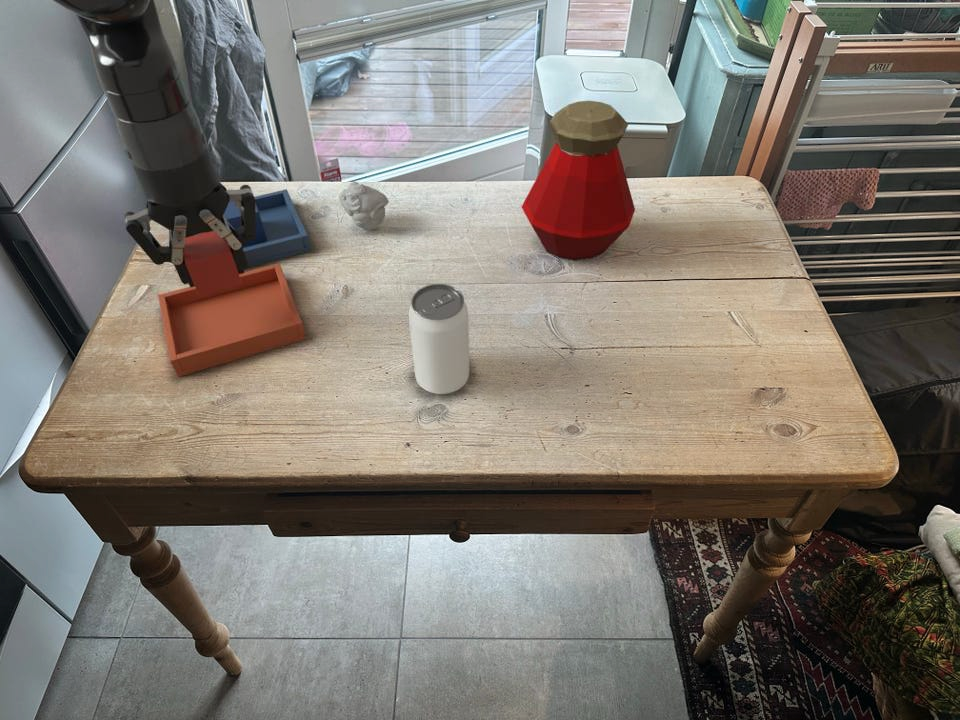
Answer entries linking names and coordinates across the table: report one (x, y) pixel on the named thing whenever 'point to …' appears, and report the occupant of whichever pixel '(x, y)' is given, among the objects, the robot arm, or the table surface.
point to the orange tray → (230, 321)
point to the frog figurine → (364, 205)
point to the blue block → (235, 221)
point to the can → (439, 338)
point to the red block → (210, 263)
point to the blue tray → (277, 230)
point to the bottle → (582, 184)
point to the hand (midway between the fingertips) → (216, 275)
